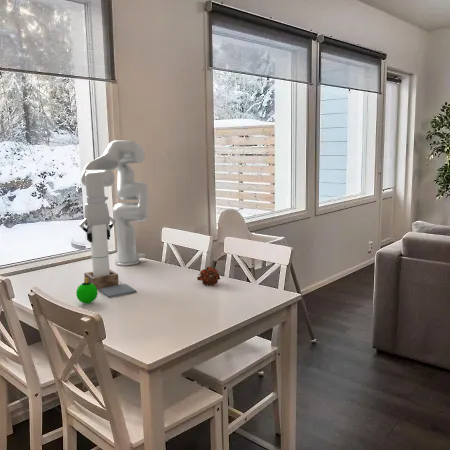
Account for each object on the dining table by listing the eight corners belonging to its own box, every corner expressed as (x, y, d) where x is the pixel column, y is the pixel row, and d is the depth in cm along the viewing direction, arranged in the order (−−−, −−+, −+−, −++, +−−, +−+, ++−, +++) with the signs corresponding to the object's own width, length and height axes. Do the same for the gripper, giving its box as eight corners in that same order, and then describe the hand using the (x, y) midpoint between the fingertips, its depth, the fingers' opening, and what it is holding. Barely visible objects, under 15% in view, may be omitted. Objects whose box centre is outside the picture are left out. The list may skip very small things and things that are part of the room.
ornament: (76, 307, 183) (74, 282, 181) (77, 300, 190) (75, 276, 189) (98, 305, 185) (96, 280, 183) (98, 298, 192) (96, 274, 191)
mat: (125, 285, 210) (125, 283, 209) (136, 292, 200) (136, 290, 200) (99, 290, 203) (98, 288, 203) (108, 297, 193) (108, 295, 193)
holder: (109, 279, 220) (108, 268, 219) (118, 285, 210) (118, 274, 209) (85, 283, 213) (84, 272, 212) (93, 289, 204) (92, 278, 203)
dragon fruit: (216, 291, 203) (201, 289, 213) (228, 277, 206) (213, 275, 216) (204, 278, 200) (190, 276, 210) (216, 263, 203) (202, 262, 213)
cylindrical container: (112, 276, 215) (108, 222, 210) (106, 281, 208) (102, 225, 203) (97, 276, 216) (92, 222, 211) (91, 281, 209) (86, 225, 204)
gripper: (112, 197, 213) (114, 236, 216) (73, 201, 204) (76, 241, 207) (118, 199, 207) (121, 239, 210) (78, 203, 198) (81, 244, 201)
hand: (99, 240), depth 209 cm, fingers closed on cylindrical container, 7 cm apart
